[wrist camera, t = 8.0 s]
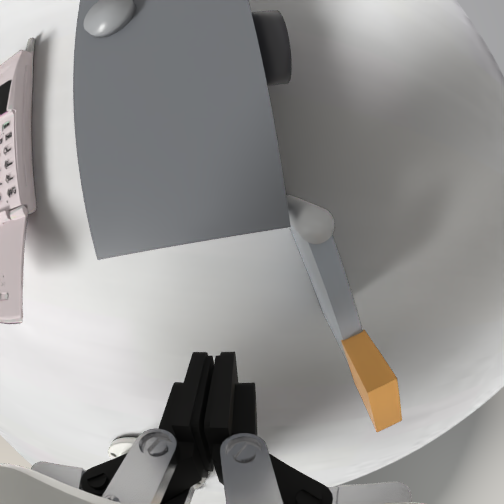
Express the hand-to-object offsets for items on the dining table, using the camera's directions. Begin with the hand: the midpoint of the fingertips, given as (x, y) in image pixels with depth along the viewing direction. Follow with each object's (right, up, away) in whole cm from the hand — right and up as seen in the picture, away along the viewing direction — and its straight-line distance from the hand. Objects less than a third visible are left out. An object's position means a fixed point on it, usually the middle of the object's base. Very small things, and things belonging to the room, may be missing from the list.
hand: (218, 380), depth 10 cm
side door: (+5, +5, +8) cm, 11 cm away
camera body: (-2, +14, +6) cm, 16 cm away
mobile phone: (-19, +13, +7) cm, 24 cm away
